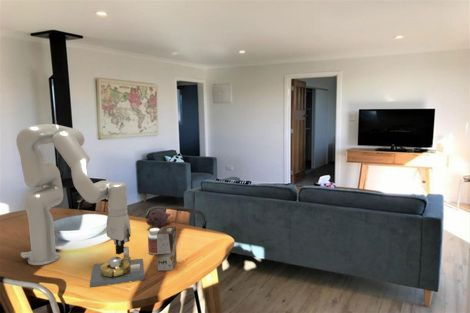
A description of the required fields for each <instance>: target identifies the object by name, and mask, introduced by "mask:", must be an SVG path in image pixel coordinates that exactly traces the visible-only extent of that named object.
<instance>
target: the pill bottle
mask: <svg viewBox="0 0 470 313" xmlns="http://www.w3.org/2000/svg"><path fill="white" fill-rule="evenodd" d="M160 229H161V228H158V227H153V228H149V230H148V232H149V234H148V235H147V243H148V244H147V248H148V254H150V255H157V233H158V231H159V230H160Z"/></svg>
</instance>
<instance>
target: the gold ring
mask: <svg viewBox="0 0 470 313" xmlns="http://www.w3.org/2000/svg"><path fill="white" fill-rule="evenodd" d="M123 251H124V253H123V258H121V267H119V266H116V267H115V269H110V266H109V260H108V261H107V262H103V263H104V264H103V265H102V266H101V267H100V269H101V273H102V275H104V276H109V277H112V276H114V277H115V276H119V275H123V273H124V274H125V273H127V272H128V271H129V270H130V263H129V261H130V260H131V256H130V248H129V245H128V246H124V247H123Z"/></svg>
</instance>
